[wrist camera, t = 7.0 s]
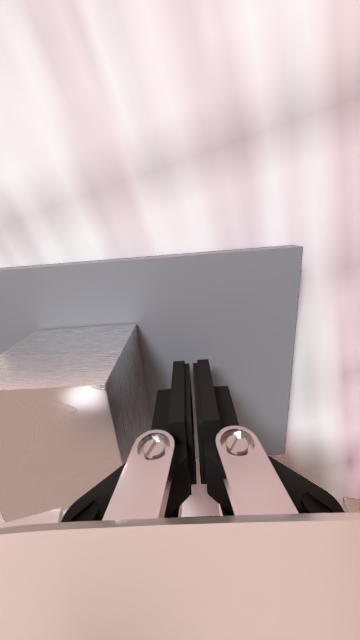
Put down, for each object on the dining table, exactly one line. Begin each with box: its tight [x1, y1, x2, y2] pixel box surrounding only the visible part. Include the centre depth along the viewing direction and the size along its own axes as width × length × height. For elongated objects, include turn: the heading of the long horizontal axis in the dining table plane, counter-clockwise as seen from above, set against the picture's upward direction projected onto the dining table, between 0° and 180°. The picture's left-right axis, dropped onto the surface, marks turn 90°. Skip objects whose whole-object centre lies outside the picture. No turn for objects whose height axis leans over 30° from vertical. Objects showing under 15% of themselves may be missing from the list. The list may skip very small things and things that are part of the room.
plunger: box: [0, 324, 151, 522], centre depth 11 cm, size 6×11×5 cm, turn 94°
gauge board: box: [0, 245, 303, 458], centre depth 11 cm, size 12×24×7 cm, turn 94°
